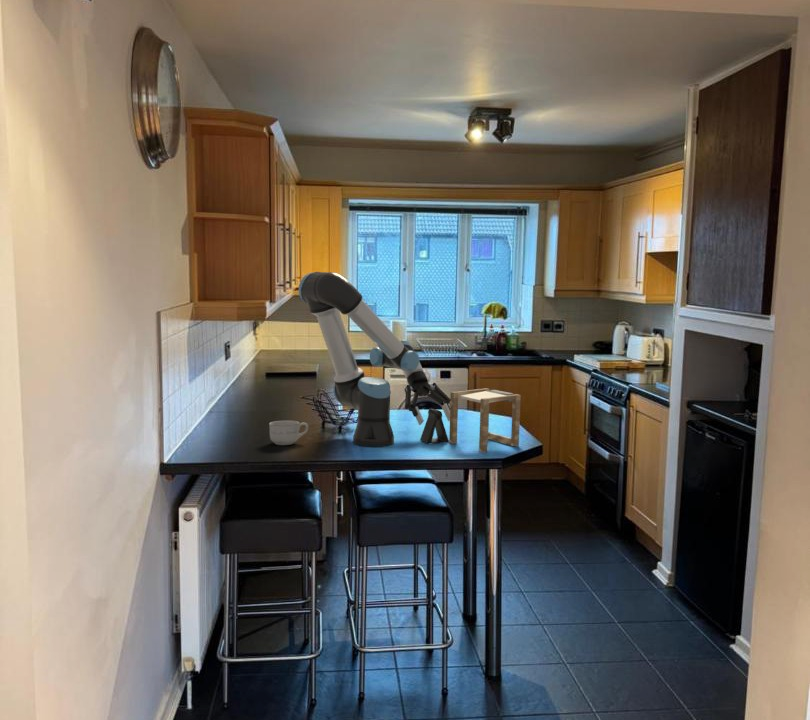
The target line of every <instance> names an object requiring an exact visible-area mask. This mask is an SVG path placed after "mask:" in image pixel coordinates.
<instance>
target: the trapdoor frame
mask: <svg viewBox="0 0 810 720" xmlns="http://www.w3.org/2000/svg"><path fill="white" fill-rule="evenodd" d="M490 390H491V389H490V388H488V387H487V388H486V387H485V388H477V389H467V390H461V391H450V397H449V398H450V402H449V407H450V421H449V438H448V440H449V442H448V443H449V444H452V445H455V444H457V443H458V418H459V417H458V415H459V396H461V395H467V394H472V393H478V392H483V391H490ZM521 397H522V396H521V394H518V393H515V394H514V393H513V395H508V396H500V397H492V398H482V399H481V403H479V405H480V411H479V438H478V440H479V443H478V452H479V453H481V452H482V454H484V452H485V453H487V452H488V440H489V439H490V441H493V440H494V441H493V442H497V443H501V444H505V445H507V444H508V445H507V446H510V447H513V446H517V447H520V446H519V445H520V426H521V425H520V424H521V422H520V421H521V399H522V398H521ZM509 399H513V401H512V409H511V410H512V413H511V433H510V434H511V435H510V436H511V437H508V436H505V435H501V434H498V433H494V432H491V431H489V429H490V428H489V423H490V403H489V402H492V403H494V402H493V401H497V402H501V400H509ZM454 443H455V444H454Z"/></svg>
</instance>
